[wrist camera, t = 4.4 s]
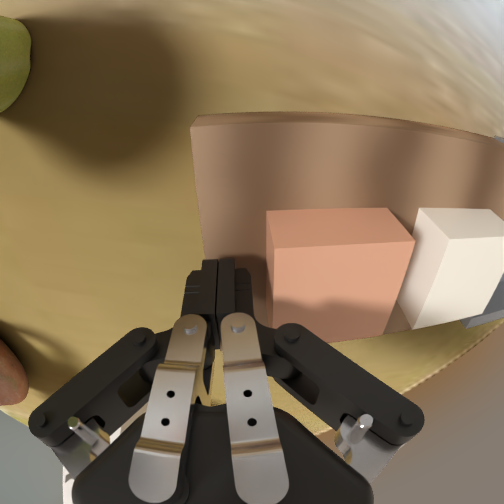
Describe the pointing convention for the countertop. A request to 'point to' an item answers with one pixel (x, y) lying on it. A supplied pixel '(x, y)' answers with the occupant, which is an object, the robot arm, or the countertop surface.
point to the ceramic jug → (11, 377)
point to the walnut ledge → (330, 177)
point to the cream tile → (452, 265)
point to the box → (498, 305)
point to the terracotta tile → (335, 270)
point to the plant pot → (13, 60)
